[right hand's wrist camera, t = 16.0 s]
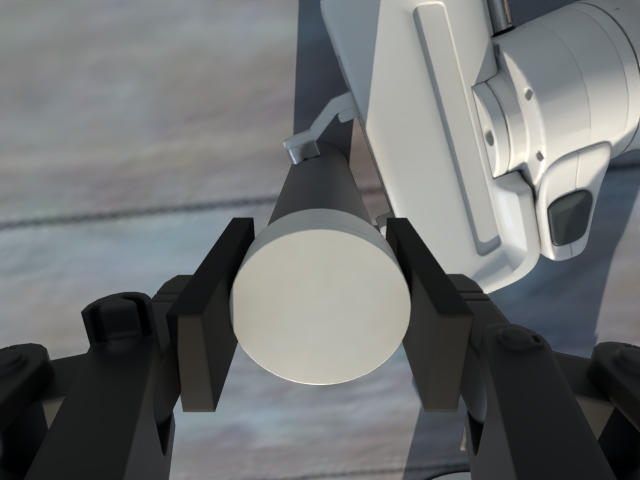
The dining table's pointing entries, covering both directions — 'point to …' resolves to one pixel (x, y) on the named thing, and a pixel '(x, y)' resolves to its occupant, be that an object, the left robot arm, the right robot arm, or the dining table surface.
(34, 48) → the dining table surface
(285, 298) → the cream round lid
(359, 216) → the dark grey cylinder
